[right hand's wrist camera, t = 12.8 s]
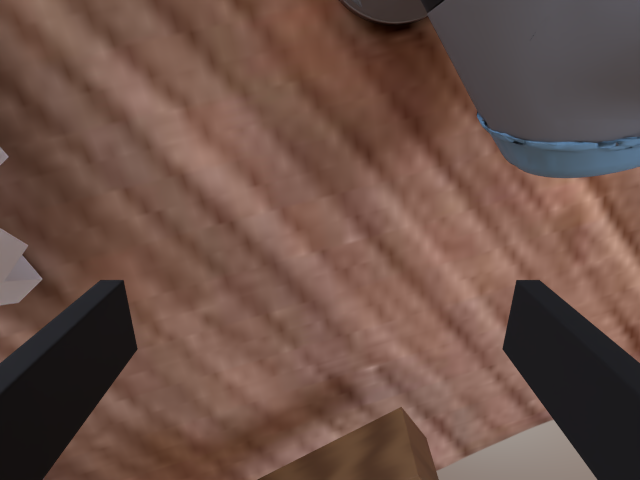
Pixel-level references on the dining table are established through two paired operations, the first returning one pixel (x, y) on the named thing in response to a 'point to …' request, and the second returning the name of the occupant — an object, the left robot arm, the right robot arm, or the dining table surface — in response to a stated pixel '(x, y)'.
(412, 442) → the bar
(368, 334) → the dining table surface
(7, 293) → the pile of blocks
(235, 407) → the dining table surface
